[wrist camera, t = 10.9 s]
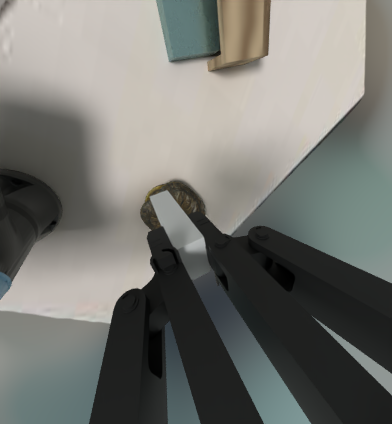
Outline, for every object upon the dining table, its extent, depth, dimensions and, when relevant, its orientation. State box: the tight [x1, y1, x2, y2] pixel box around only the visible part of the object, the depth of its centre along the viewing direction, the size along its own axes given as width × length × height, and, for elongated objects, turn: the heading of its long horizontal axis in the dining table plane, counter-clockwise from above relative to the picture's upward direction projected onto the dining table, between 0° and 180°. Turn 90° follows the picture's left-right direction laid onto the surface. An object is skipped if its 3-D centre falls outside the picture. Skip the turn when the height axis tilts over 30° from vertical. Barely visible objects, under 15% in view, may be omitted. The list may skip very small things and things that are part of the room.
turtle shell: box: [141, 182, 205, 230], centre depth 46 cm, size 16×9×20 cm
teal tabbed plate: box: [156, 0, 220, 62], centre depth 31 cm, size 14×9×3 cm, turn 101°
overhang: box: [207, 0, 271, 71], centre depth 31 cm, size 10×14×7 cm
